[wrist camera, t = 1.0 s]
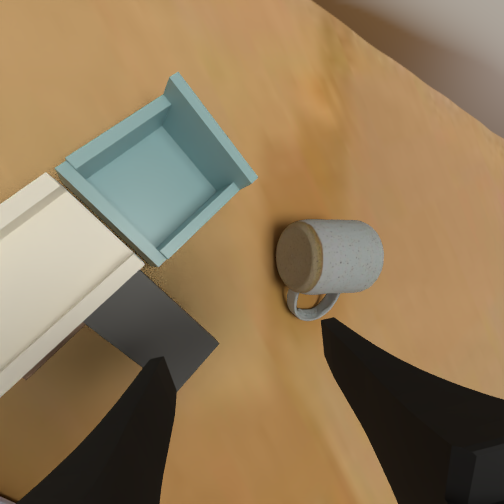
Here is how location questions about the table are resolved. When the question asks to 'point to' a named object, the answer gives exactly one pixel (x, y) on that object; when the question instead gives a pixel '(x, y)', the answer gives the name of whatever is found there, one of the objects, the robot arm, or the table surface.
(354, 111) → the table surface
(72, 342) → the table surface
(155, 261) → the bin
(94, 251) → the cream piece
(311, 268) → the ceramic mug
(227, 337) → the table surface
